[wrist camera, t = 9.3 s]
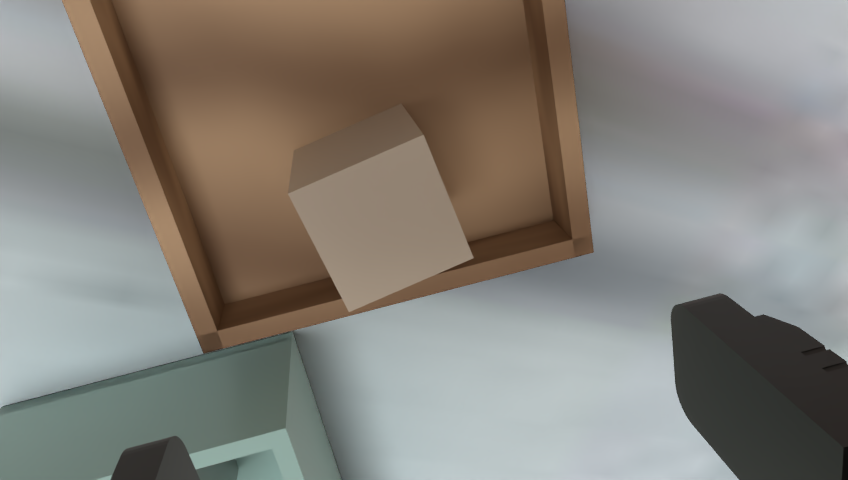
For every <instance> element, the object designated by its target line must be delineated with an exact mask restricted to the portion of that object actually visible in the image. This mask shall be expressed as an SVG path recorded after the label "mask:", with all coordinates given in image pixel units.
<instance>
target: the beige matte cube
mask: <svg viewBox="0 0 848 480" xmlns="http://www.w3.org/2000/svg"><path fill="white" fill-rule="evenodd" d="M288 195H289V197H290V199H291V201H292V203H293V205H294V207H295V209H296V211H297V212H298V214H299V216H300V218H301V220H302V222H303V224H304V226H305V228H306V230H307V232H308V234H309V236H310V238H311V240H312V242H313V243H314V245H315V247H316V249H317V251H318V253H319V255H320V257H321V259H322V261H323V263H324V265H325V267H326V269H327V271H328V273H329V274H330V276H331V278H332V280H333V282H334V284H335V286H336V288H337V290H338V292H339V294H340V296H341V298H342V300H343V302H344V304H345V305H346V307H347V309H348V311H349V312H351V311H353V310H355V309H358V308H360V307H362V306H364V305H367V304H369V303H371V302H374V301H376V300H378V299H381V298H383V297H385V296H387V295H390V294H392V293H394V292H397V291H399V290H401V289H404V288H406V287H408V286H411V285H413V284H415V283H417V282H420V281H422V280H424V279H427V278H429V277H431V276H434V275H436V274H438V273H441V272H443V271H445V270H447V269H450V268H452V267H454V266H457V265H459V264H461V263H464V262H466V261H468V260H470V259H473V258H474V257H473V255H472V253H471V250H470V248H469V245H468V243H467V240H466V238H465V235H464V233H463V230H462V228H461V225H460V223H459V221H458V218H457V216H456V213H455V211H454V208H453V206H452V203H451V201H450V198H449V196H448V193H447V191H446V189H445V186H444V184H443V181H442V179H441V176H440V174H439V171H438V169H437V166H436V164H435V161H434V159H433V157H432V154H431V152H430V149H429V147H428V144H427V142H426V139H425V137H424V135H423V133H422V132H421V130H420V129H419V128H418V126H417V125H416V123H415V122H414V121H413V119H412V118H411V116H410V115H409V114H408V112H407V111H406V109H405V108H404V107H403V105H402V104H399V105H397V106H395V107H392V108H390V109H388V110H385V111H383V112H381V113H379V114H376V115H374V116H372V117H369V118H367V119H365V120H362V121H360V122H358V123H356V124H353V125H351V126H349V127H346V128H344V129H342V130H339V131H337V132H335V133H333V134H330V135H328V136H326V137H323V138H321V139H319V140H316V141H314V142H312V143H310V144H307V145H305V146H303V147H300V148H298V149H296V150H294V152H293V159H292V167H291V174H290V181H289V189H288Z"/></svg>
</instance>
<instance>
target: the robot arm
mask: <svg viewBox="0 0 848 480" xmlns="http://www.w3.org/2000/svg"><path fill="white" fill-rule="evenodd" d="M671 326H672V341H673V356H674V371H675V384H676V390H677V394H678V398H679V401H680V403H681V406H682V408H683V410H684V412H685V414H686V416H687V418H688V419H689V421H690V422H691V423H692V425H693V426H694V427H695V428H696V429H697V430H698V432H699V433H700V434H701V435H702V436H703V438H704V439H705V440H706V441H707V442H708V443H709V445H710V446H711V447H712V448H713V449H714V451H715V452H716V453H717V454H718V455H719V456H720V458H721V459H722V460H723V461H724V462H725V463H726V465H727V466H728V467H729V468H730V469H731V471H732V472H733V473H734V474H735V475H736V476H737V478H738V479H739V480H848V365H847V363H846V361H845V360H844V359H842V358H841V357H839V356H838V355H837V354H835V353H834V352H832V351H831V350H830V349H829V350H826V349H825V347H824V345H823V344H821V343H820V342H818V341H817V340H816V339H814V338H813V337H811V336H810V335H809V334H807V333H806V332H804V331H803V330H802V329H800V328H799V327H797V326H794V325H791V324H788V323H786V322H783V321H780V320H777V319H775V318H772V317H769V316H767V315H760V316H756V317H754V316H753V315H751V314H750V313H749V312H747V311H746V310H745V309H744V308H742V307H741V306H740V305H738V304H737V303H736V302H734V301H733V300H732V299H730V298H729V297H728V296H726V295H724V294H716V295H712V296H708V297H704V298H701V299H697V300H693V301H689V302H685V303H682V304H678V305H675V306H674V307H673V309H672V312H671ZM110 480H200V478H199V476H198V474H197V472H196V469H195V467H194V465H193V462H192V460H191V458H190V456H189V453H188V451H187V449H186V447H185V445H184V443H183V441H182V440H181V439H180V438H179V437H177V436H172V437H168V438H164V439H161V440H157V441H153V442H149V443H145V444H142V445H138V446H134V447H130V448H127V449H125V450H124V451H123V452H122V454H121V456H120V458H119V461H118V463H117V465H116V468H115V470H114V472H113V475H112V477H111V479H110Z"/></svg>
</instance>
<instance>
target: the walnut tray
mask: <svg viewBox="0 0 848 480" xmlns="http://www.w3.org/2000/svg"><path fill="white" fill-rule="evenodd" d="M62 2H63V4H64V7H65V9H66V12H67V14H68V17H69V19H70V22H71V24H72V27H73V29H74V32H75V34H76V37H77V39H78V42H79V44H80V47H81V49H82V52H83V54H84V57H85V59H86V62H87V64H88V67H89V69H90V72H91V74H92V77H93V79H94V82H95V84H96V87H97V89H98V92H99V94H100V97H101V99H102V102H103V104H104V107H105V109H106V112H107V114H108V117H109V119H110V121H111V124H112V126H113V129H114V131H115V134H116V136H117V139H118V141H119V144H120V146H121V149H122V151H123V154H124V156H125V159H126V161H127V164H128V166H129V169H130V171H131V174H132V176H133V179H134V181H135V184H136V186H137V189H138V191H139V194H140V196H141V199H142V201H143V204H144V206H145V209H146V211H147V214H148V216H149V219H150V221H151V224H152V226H153V229H154V231H155V234H156V236H157V239H158V241H159V244H160V246H161V249H162V251H163V254H164V256H165V259H166V261H167V264H168V266H169V269H170V271H171V274H172V276H173V279H174V281H175V284H176V286H177V289H178V291H179V294H180V296H181V299H182V301H183V304H184V306H185V309H186V311H187V314H188V316H189V319H190V321H191V324H192V326H193V328H194V331H195V333H196V336H197V338H198V341H199V343H200V346H201V348H202V351H203V353H208V352H212V351H216V350H219V349H223V348H227V347H231V346H235V345H239V344H243V343H246V342H250V341H254V340H258V339H262V338H266V337H270V336H273V335H277V334H281V333H285V332H289V331H293V330H296V329H300V328H304V327H308V326H312V325H316V324H320V323H323V322H327V321H331V320H335V319H339V318H343V317H347V316H350V315H354V314H358V313H362V312H366V311H370V310H374V309H377V308H381V307H385V306H389V305H393V304H397V303H400V302H404V301H408V300H412V299H416V298H420V297H424V296H427V295H431V294H435V293H439V292H443V291H447V290H451V289H454V288H458V287H462V286H466V285H470V284H474V283H477V282H481V281H485V280H489V279H493V278H497V277H501V276H504V275H508V274H512V273H516V272H520V271H524V270H528V269H531V268H535V267H539V266H543V265H547V264H551V263H555V262H558V261H562V260H566V259H570V258H574V257H578V256H581V255H585V254H589V253H593V252H594V251H593V243H592V234H591V225H590V217H589V208H588V199H587V191H586V182H585V173H584V165H583V156H582V147H581V138H580V130H579V121H578V112H577V104H576V95H575V86H574V78H573V69H572V60H571V52H570V43H569V34H568V25H567V17H566V8H565V0H62ZM399 104H402V105H403V107H404V108H405V109H406V111H407V112H408V114H409V115H410V116H411V118H412V119H413V121H414V122H415V123H416V125H417V126H418V128H419V129H420V130H421V132H422V133H423V135H424V137H425V139H426V142H427V144H428V147H429V149H430V152H431V154H432V157H433V159H434V161H435V164H436V166H437V169H438V171H439V174H440V176H441V179H442V181H443V184H444V186H445V189H446V191H447V193H448V196H449V198H450V201H451V203H452V206H453V208H454V211H455V213H456V216H457V218H458V221H459V223H460V225H461V228H462V230H463V233H464V235H465V238H466V240H467V243H468V245H469V248H470V250H471V253H472V255H473V257H474V258H473V259H470V260H468V261H466V262H464V263H461V264H459V265H457V266H454V267H452V268H450V269H447V270H445V271H443V272H441V273H438V274H436V275H434V276H431V277H429V278H427V279H424V280H422V281H420V282H417V283H415V284H413V285H411V286H408V287H406V288H404V289H401V290H399V291H397V292H394V293H392V294H390V295H387V296H385V297H383V298H381V299H378V300H376V301H374V302H371V303H369V304H367V305H364V306H362V307H360V308H358V309H355V310H353V311H351V312H349V311H348V309H347V307H346V305H345V304H344V302H343V300H342V298H341V296H340V294H339V292H338V290H337V288H336V286H335V284H334V282H333V280H332V278H331V276H330V274H329V273H328V271H327V269H326V267H325V265H324V263H323V261H322V259H321V257H320V255H319V253H318V251H317V249H316V247H315V245H314V243H313V242H312V240H311V238H310V236H309V234H308V232H307V230H306V228H305V226H304V224H303V222H302V220H301V218H300V216H299V214H298V212H297V211H296V209H295V207H294V205H293V203H292V201H291V199H290V197H289V195H288V189H289V181H290V174H291V167H292V159H293V152H294V150H296V149H298V148H300V147H303V146H305V145H307V144H310V143H312V142H314V141H316V140H319V139H321V138H323V137H326V136H328V135H330V134H333V133H335V132H337V131H339V130H342V129H344V128H346V127H349V126H351V125H353V124H356V123H358V122H360V121H362V120H365V119H367V118H369V117H372V116H374V115H376V114H379V113H381V112H383V111H385V110H388V109H390V108H392V107H395V106H397V105H399Z"/></svg>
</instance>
